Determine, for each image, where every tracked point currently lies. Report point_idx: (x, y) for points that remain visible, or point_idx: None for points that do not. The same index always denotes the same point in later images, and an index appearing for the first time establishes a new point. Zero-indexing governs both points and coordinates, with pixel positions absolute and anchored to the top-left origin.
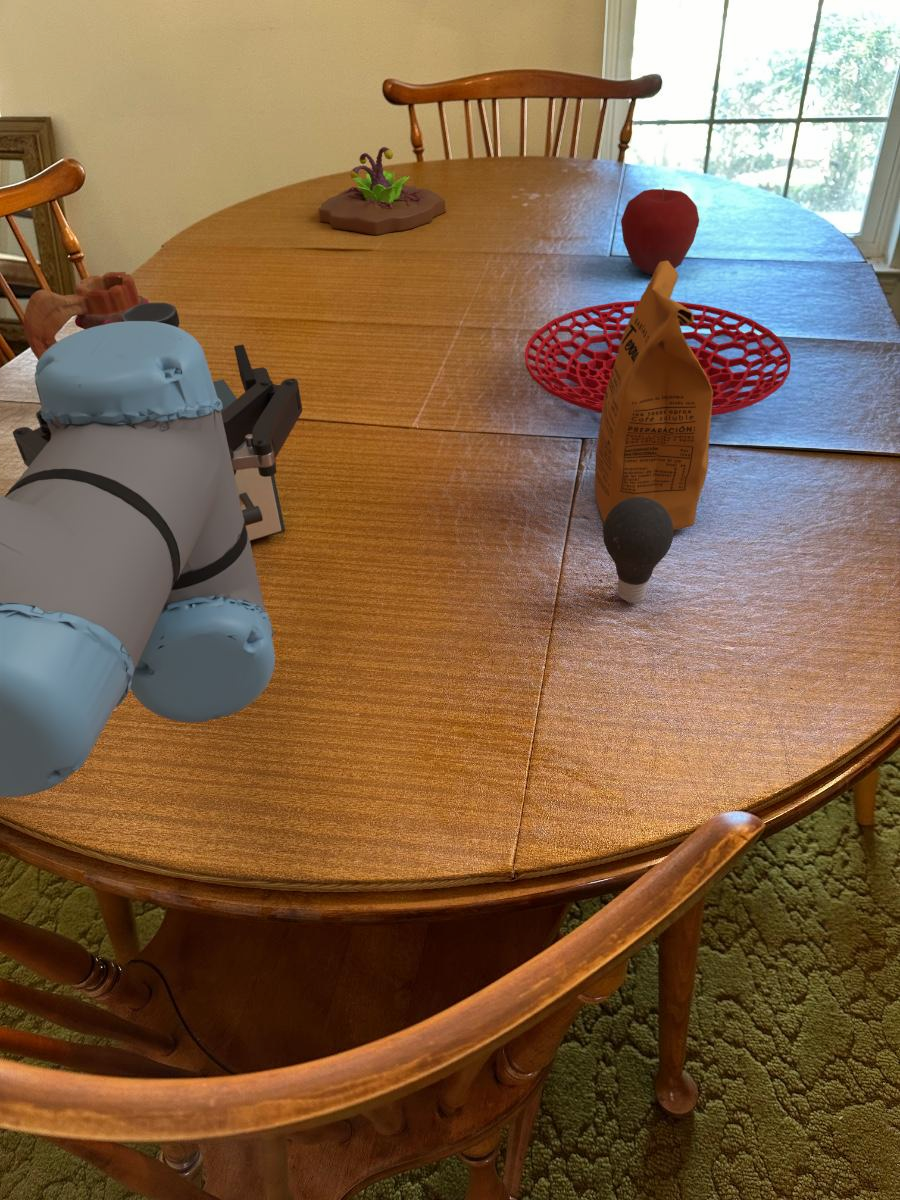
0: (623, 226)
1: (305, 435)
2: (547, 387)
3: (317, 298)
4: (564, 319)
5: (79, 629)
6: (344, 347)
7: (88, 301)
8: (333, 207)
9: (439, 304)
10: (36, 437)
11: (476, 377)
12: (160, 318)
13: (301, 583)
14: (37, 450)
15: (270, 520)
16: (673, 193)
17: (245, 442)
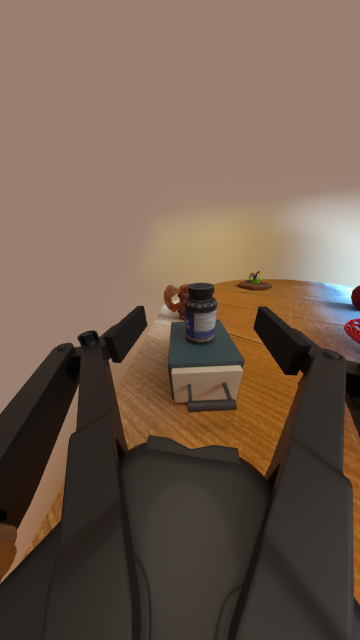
0: (356, 293)
1: (240, 343)
2: None
3: (239, 301)
4: (354, 321)
5: None
6: (249, 315)
7: (182, 290)
8: (242, 283)
9: (278, 307)
10: (57, 362)
11: (307, 335)
12: (206, 288)
13: (250, 456)
14: (20, 392)
15: (232, 395)
16: None
17: (231, 356)
